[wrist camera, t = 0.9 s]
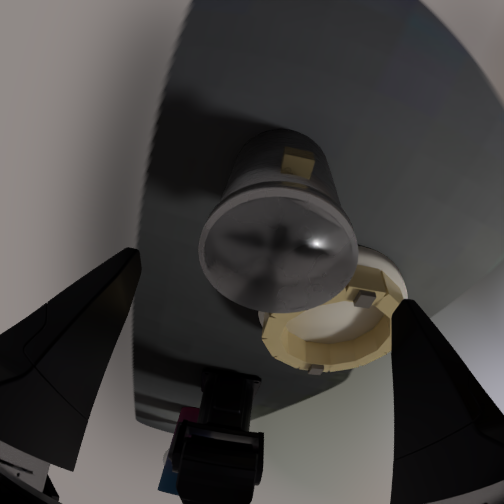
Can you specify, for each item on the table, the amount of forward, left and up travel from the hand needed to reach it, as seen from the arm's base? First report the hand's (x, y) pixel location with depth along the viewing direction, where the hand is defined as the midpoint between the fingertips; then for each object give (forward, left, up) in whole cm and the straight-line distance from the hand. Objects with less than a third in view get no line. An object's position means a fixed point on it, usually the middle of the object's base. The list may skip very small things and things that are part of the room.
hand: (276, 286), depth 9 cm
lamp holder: (-9, -6, -8) cm, 13 cm away
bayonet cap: (0, 0, -8) cm, 8 cm away
